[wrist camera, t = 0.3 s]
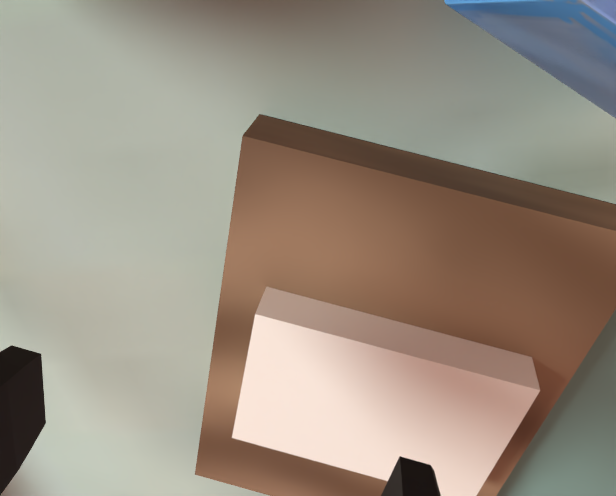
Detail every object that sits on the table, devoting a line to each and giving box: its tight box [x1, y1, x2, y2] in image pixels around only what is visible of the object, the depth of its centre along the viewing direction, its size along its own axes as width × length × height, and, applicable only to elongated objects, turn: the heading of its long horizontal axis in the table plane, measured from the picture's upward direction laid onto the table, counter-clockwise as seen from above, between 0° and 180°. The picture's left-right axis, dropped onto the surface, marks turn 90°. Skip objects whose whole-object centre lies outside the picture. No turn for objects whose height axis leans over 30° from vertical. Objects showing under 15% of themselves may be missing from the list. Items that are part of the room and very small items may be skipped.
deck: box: [195, 114, 616, 496], centre depth 21 cm, size 16×12×2 cm
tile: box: [232, 287, 540, 496], centre depth 19 cm, size 6×9×2 cm, turn 79°
